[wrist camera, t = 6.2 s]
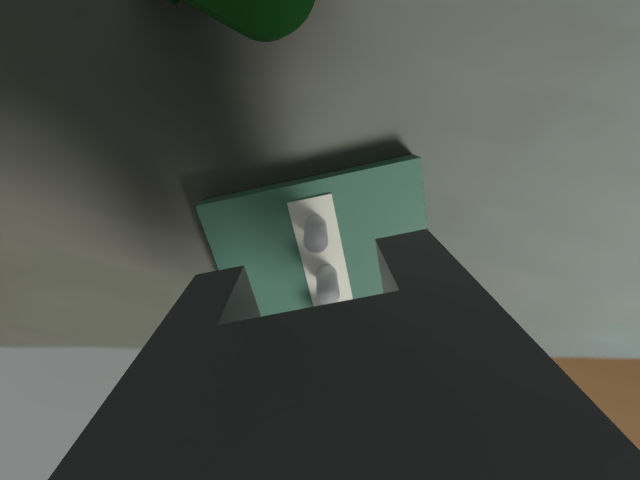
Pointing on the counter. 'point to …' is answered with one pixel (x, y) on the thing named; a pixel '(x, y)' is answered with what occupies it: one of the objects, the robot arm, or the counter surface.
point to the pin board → (315, 232)
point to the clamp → (257, 15)
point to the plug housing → (349, 389)
